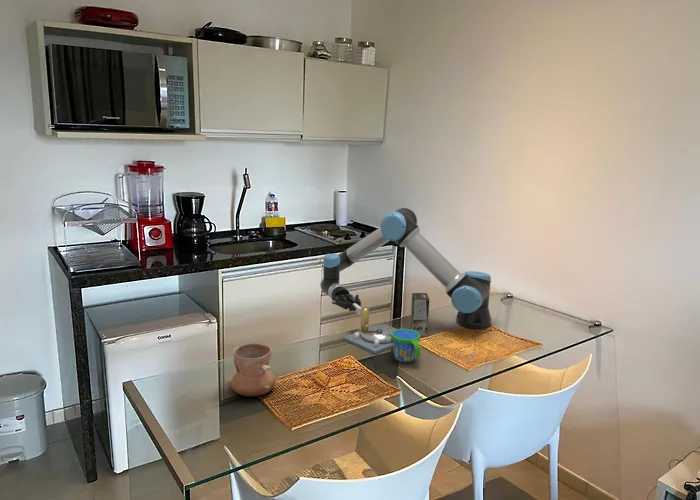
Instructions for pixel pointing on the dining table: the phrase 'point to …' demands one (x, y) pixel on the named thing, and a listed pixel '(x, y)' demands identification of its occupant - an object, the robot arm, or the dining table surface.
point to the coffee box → (420, 313)
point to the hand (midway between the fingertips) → (360, 311)
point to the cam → (374, 329)
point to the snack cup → (405, 345)
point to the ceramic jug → (252, 370)
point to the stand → (366, 345)
